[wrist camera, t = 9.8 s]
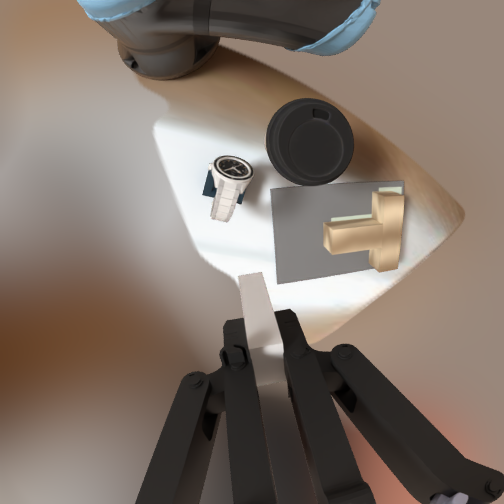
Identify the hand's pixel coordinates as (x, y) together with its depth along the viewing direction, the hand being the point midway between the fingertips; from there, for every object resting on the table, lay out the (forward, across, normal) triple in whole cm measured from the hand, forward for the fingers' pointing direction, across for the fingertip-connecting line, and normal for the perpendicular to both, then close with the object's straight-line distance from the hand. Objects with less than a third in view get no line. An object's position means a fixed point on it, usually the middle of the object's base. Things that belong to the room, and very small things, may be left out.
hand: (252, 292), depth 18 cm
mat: (+26, +17, -8) cm, 32 cm away
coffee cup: (+26, +8, +8) cm, 29 cm away
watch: (+26, -1, +3) cm, 26 cm away
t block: (+25, +20, -8) cm, 33 cm away
